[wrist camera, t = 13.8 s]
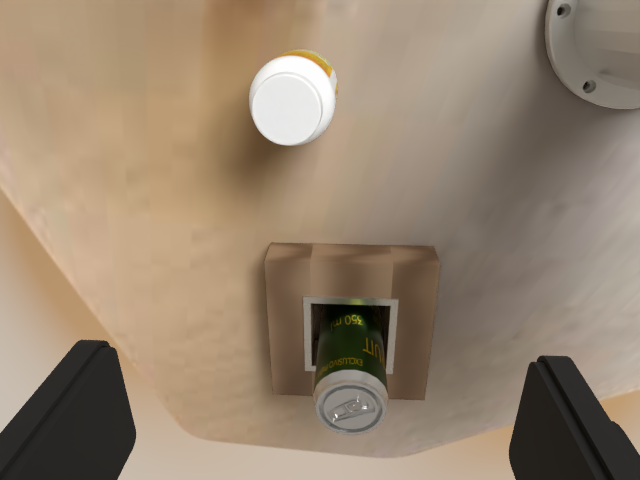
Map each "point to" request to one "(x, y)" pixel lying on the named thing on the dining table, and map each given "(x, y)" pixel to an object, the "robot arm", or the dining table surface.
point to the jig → (351, 281)
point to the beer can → (350, 369)
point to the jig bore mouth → (350, 301)
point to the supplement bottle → (294, 97)
